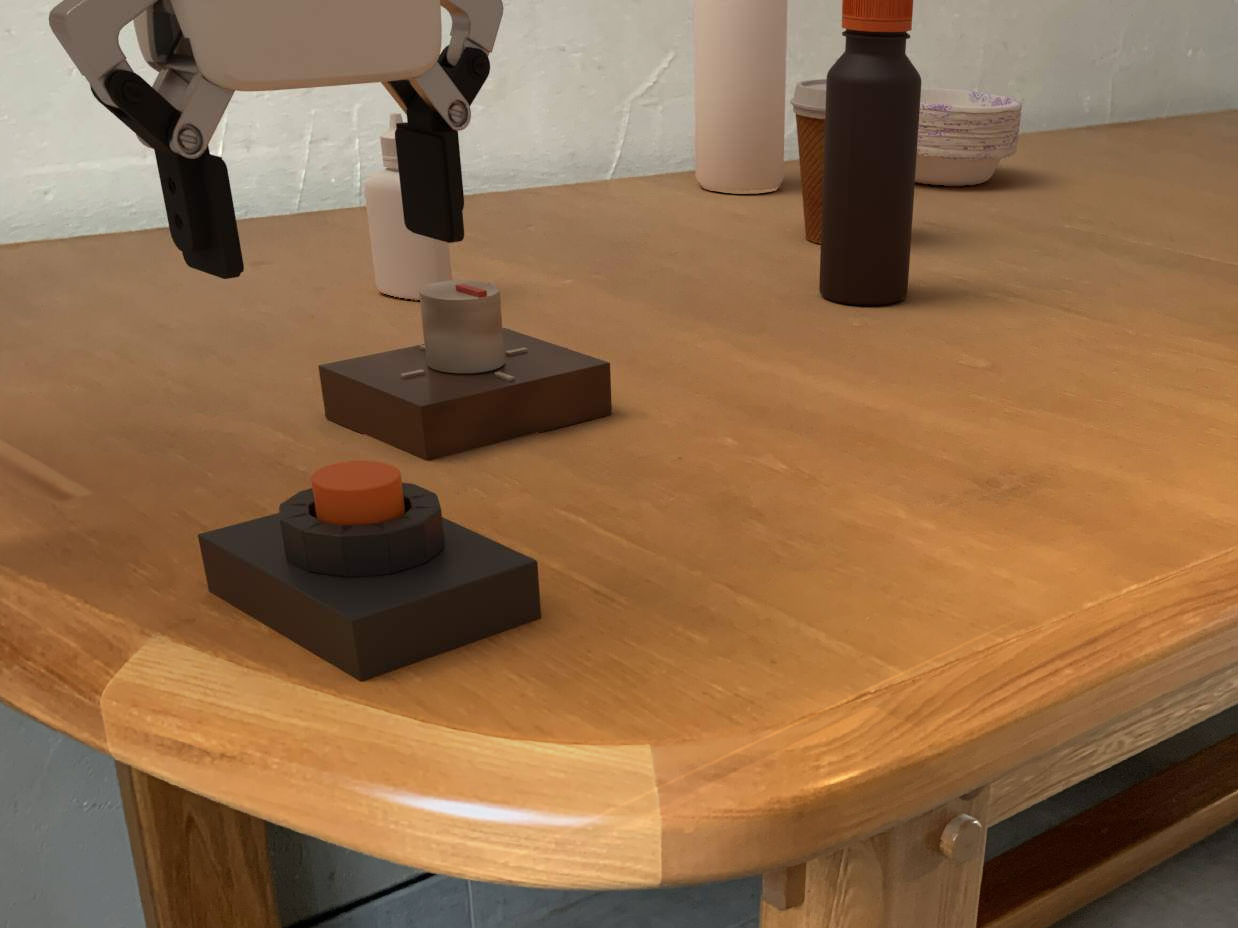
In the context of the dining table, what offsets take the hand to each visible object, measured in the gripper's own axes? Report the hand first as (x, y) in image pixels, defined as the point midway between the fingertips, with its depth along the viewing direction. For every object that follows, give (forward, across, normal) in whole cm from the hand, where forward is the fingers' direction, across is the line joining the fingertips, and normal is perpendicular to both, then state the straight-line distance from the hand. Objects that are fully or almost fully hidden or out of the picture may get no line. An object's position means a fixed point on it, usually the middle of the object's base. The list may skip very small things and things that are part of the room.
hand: (330, 253), depth 58 cm
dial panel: (+14, -19, -18) cm, 30 cm away
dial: (+11, -19, -18) cm, 29 cm away
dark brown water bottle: (+15, -59, -23) cm, 65 cm away
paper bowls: (+15, -104, -52) cm, 117 cm away
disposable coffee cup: (+15, -73, -38) cm, 84 cm away
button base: (+14, 0, 0) cm, 14 cm away
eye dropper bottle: (+14, -33, -44) cm, 57 cm away
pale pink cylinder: (+15, -83, -61) cm, 104 cm away
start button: (+10, 0, 0) cm, 10 cm away
